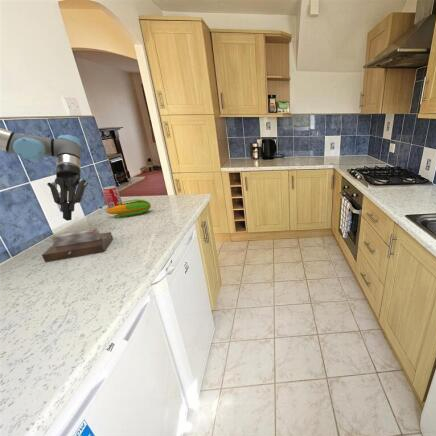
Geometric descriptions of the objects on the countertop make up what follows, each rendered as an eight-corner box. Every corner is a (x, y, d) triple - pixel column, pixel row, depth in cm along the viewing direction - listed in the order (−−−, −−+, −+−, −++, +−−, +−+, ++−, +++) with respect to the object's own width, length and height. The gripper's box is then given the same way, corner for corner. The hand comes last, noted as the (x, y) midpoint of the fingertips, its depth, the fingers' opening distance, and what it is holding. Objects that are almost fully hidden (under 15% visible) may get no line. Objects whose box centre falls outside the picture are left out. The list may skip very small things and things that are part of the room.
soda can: (122, 204, 142) (116, 184, 137) (124, 207, 137) (117, 187, 132) (108, 207, 138) (101, 187, 133) (109, 211, 133) (101, 189, 128)
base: (40, 266, 84) (36, 259, 83) (63, 243, 100) (60, 236, 98) (102, 255, 90) (99, 248, 88) (115, 235, 105) (113, 228, 104)
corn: (148, 199, 125) (101, 206, 117) (151, 213, 128) (106, 220, 120) (149, 196, 131) (104, 202, 123) (152, 209, 134) (109, 216, 126)
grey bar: (55, 247, 90) (50, 237, 89) (57, 244, 92) (53, 234, 90) (99, 240, 95) (95, 230, 93) (101, 237, 97) (97, 228, 95)
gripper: (91, 171, 108) (91, 219, 100) (55, 175, 103) (52, 225, 96) (82, 161, 101) (82, 212, 93) (43, 164, 97) (39, 218, 89)
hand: (67, 218), depth 95 cm, fingers closed
